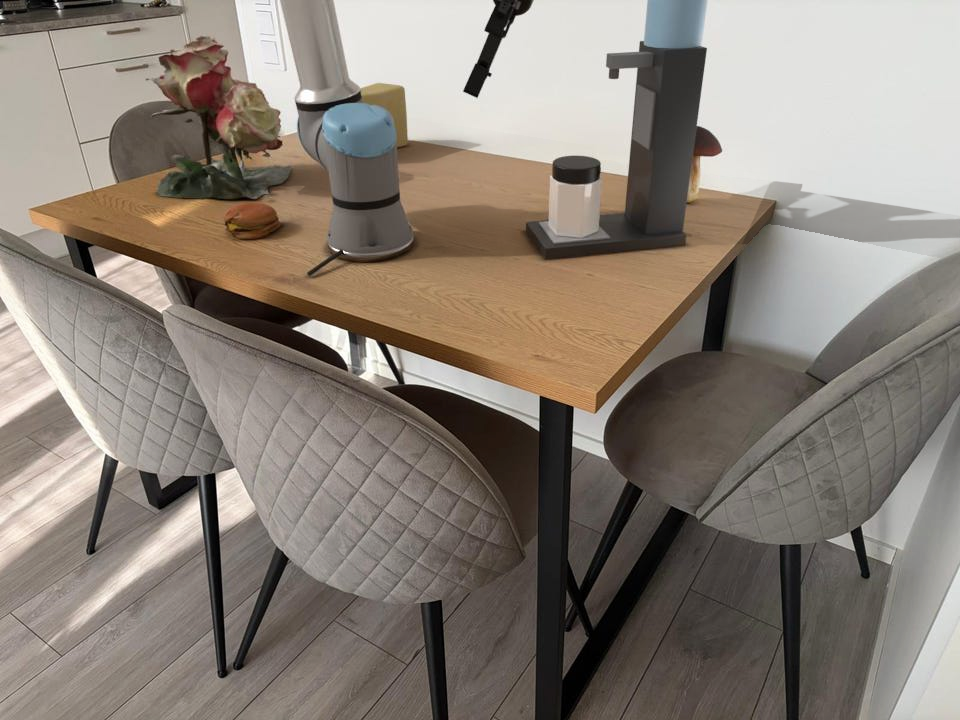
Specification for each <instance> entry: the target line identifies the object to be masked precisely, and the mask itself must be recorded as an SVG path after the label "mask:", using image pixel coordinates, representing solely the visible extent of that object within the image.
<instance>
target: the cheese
mask: <svg viewBox="0 0 960 720" xmlns="http://www.w3.org/2000/svg"><path fill="white" fill-rule="evenodd" d="M360 91H361V96H362V101H363V103H366V104H369V105H376V106H379V107H382V108H384V109H385V110H387V111H388V112H389V113H390V114H391V116H392V118H393V121H394V128H395V130H396V135H397V137H396V138H397V139H396V147H397V149H398V148H401V147H405V146H407V145H409V140H408V139H409V138H408V137H409V136H408V116H407V115H408V114H407V102H406V91H405V87H404V86H402V85H400V84H393V83H392V84H391V83H385V82H383V83H382V82H376V83H373V84H370V85H366V86H363V87H360Z"/></svg>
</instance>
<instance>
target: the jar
mask: <svg viewBox="0 0 960 720" xmlns="http://www.w3.org/2000/svg"><path fill="white" fill-rule="evenodd" d="M551 165H552V166H551V167H552V170H551V175H550V176H549V193H548V194H549V195H548V196H549V197H548V199H549V200H548V220H549V225H548V226H549V227H550V229H551V230H552V231H553V232H554V233H555V235H557V236H565V237H575V238H583V237H585V236H588V235H590V234H593V233H595V232H597V231H598V230H599V216H600V215H601V201H602V189H603V188H602V187H603V185H602V184H603V179H602V178H601V173H602V166H601V165H602V163H601V161H600V160H599V159H597V158H595V157H593V156H588V155H587V156H586V155H565V156H560V157H557V158H555V159H554V160H553V161H552V164H551Z"/></svg>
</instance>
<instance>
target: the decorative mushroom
mask: <svg viewBox="0 0 960 720" xmlns="http://www.w3.org/2000/svg"><path fill="white" fill-rule="evenodd" d="M722 152H723V148H722V146H721V143H720V141H719V139H718V138H717V137H716V136H715V134H713V132H711V131H710V130H709V129H707V128H705V127H703V126H700V125H697V128H696V135H695V143H694V150H693V158H692V165H691V173H690V180H689V188H688V196H687V203H692V202H694V201H696V200H697V198H698V195H699V192H700V183H701V157H704V158H705V157H710V158H711V157H712V158H713V157H716V156H718V155H719V154H721V153H722Z"/></svg>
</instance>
